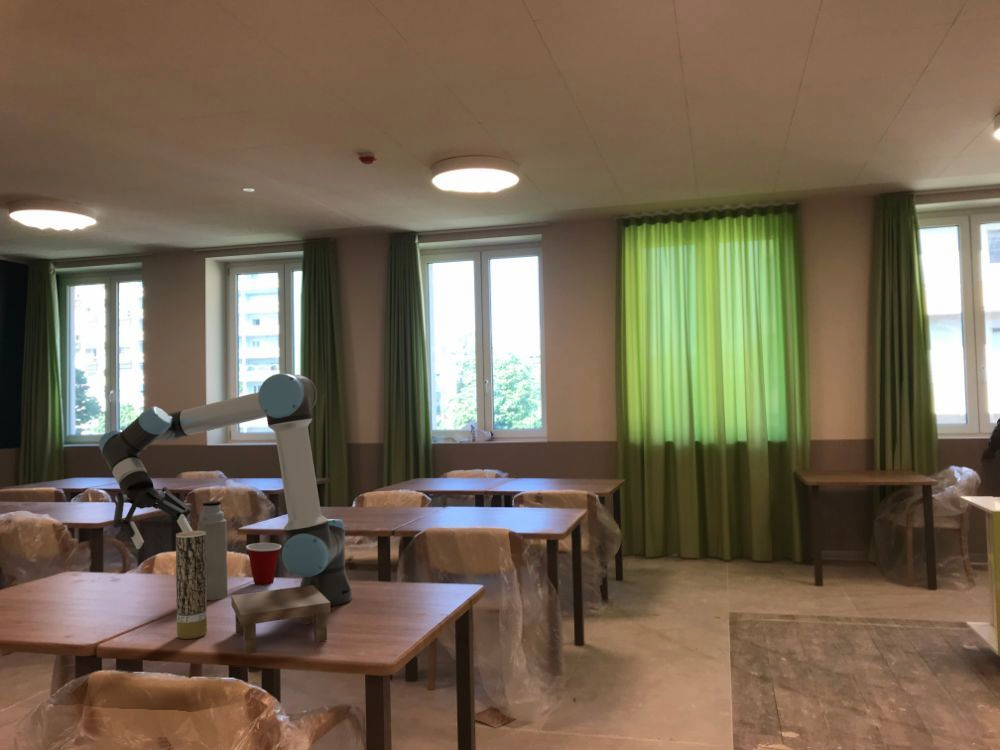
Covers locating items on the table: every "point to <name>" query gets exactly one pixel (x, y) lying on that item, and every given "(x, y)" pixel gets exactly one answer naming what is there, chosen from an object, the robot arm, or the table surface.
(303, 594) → the stool
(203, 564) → the paper tube
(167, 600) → the table surface
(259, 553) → the plastic cup
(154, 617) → the table surface
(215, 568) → the thermos bottle
